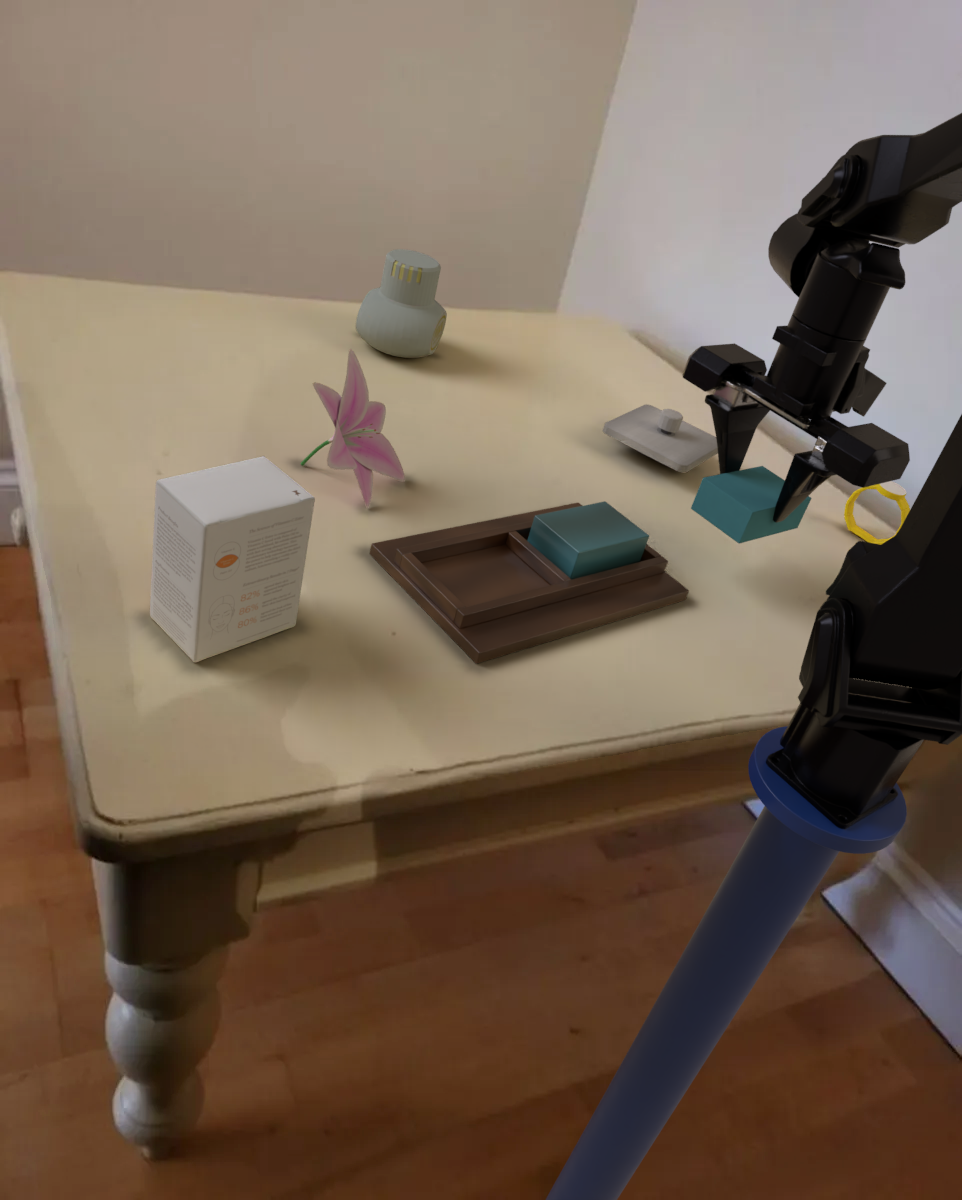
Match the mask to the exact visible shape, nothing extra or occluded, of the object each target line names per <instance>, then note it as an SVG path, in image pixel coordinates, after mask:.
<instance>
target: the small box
mask: <svg viewBox="0 0 962 1200" xmlns="http://www.w3.org/2000/svg"><path fill="white" fill-rule="evenodd" d="M315 501H316V498H315V496H314V495H313V494H311V493H310V492H309V491H307V490H306V488H304V487H303V486H302V485H301V484H299V483H298V482H297V481H295V480H294V478H292V477H291V476H290V475H288V474H287V473H286V472H285V471H283V470H282V469H281V468H280V467H279V466H277V465H276V464H275V463H274V462H272V461H271V460H270V459H268V458H267V457H266V456H265V455H262V456H257V457H254V458H249V459H245V460H240V461H235V462H231V463H227V464H223V465H218V466H213V467H209V468H205V469H200V470H196V471H191V472H186V473H182V474H178V475H177V474H176V475H172V476H168V477H163V478H159V479H157V480H156V482H155V495H154V515H153V516H154V517H153V518H154V519H153V535H152V554H151V555H152V556H151V557H152V559H151V578H150V579H151V580H150V601H149V617H150V619H152V620H153V621H154V622H155V623H156V624H157V625H158V626H159V627H160V628H161V629H162V630H163V631H164V633H165V634H166V635H167V636H168V637H169V638H170V639H171V640H172V641H173V642H174V643H175V644H176V646H178V647H179V648H180V650H182V652H184V654H186V656H187V657H188V658H189V659H190V660H191V661H192V662H193V663H199V662H201V661H204V660H206V659H209V658H211V657H214V656H217V655H219V654H223V653H226V652H228V651H231V650H234V649H236V648H239V647H242V646H244V645H247V644H250V643H253V642H256V641H259V640H261V639H264V638H267V637H270V636H272V635H275V634H277V633H280V632H283V631H286V630H288V629H291V628H294V627H295V626H296V625H297V620H298V619H297V618H298V614H299V613H298V612H299V605H300V599H301V591H302V586H303V580H304V573H305V567H306V560H307V552H308V548H309V547H308V546H309V539H310V533H311V528H312V521H313V514H314V508H315Z"/></svg>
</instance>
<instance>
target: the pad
mask: <svg viewBox="0 0 962 1200" xmlns="http://www.w3.org/2000/svg"><path fill="white" fill-rule="evenodd" d="M784 482H785V479H783V478H782V477H781V476H779V475H777V474H776V473H774V472H773V471H772V470H770V469H768V468H767V467H766V466H764V465H759V466H755V467H750V468H745V469H740V470H739V471H735V472H730V473H724V474H720V473H719V474H714V475H709V476H704V477H702V480H701V482H700V483H699V486H698V489H697V492H696V494H695V497H694V499H693V502H692V504H691V506H690V510H691V511H693V512H694V513H696V514H697V515H699V516H700V517H702V518H703V519H704V520H706V521H707V522H708V523H710V524H711V525H712V526H714V527H715V528H716V529H718V530H720V531H721V532H722V533H723V534H725V535H726V536H728V538H730V539H732V540H733V541H735V542H736V543H737V544H744V543H746V542H750V541H754V540H759V539H762V538H765V537H769V536H774V535H777V534H781V533H785V532H788V531H792V530H796V529H798V528H799V526H800V524H801V522H802V519H803V517H804V515H805V514H806V511H807V509H808V507H809V505H810V503H811V501H812V497H811V496H810V495H809V496H808V497H807V498H806V499H805V500H804V501H803V502H802V503H801V504H800V505H799V506H798V507H797V508H796V509H795V510H794V511H793V512H792V513H791V514H790V515H789V516H788V517H787V518H786V519H785V520H783V521H781V522H777V523H776V522H774V521H773V516H774V511H775V506H776V503H777V500H778V498H779V495H780V492H781V490H782V487H783V484H784Z"/></svg>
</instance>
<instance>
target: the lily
mask: <svg viewBox="0 0 962 1200" xmlns="http://www.w3.org/2000/svg"><path fill="white" fill-rule="evenodd" d="M312 386H313V389H314V391H315V392H316V394H317V396H318V398H319V400H320V402H321V404H322V405H323V408H324V409H325V410H326V412H327V414H328V416H329V418H330V420H331V423H332V424H333V426H334V433H333V435H332V436H331V437H330V438H328V439H327V440H325V441H324V442H322V443H321V444H319V445H318V446H316V447H315V448H314V449H313V450H312V451H311V452H310V453H309V454H308V455H306V457H305V458H304V459H303V460H302V461H301V462H300V466H302V467H303V466H304V465H306V463H307V462H308V461H309V460H311V458H313V456H314V455H316V453H318V452H319V451H320V450H321V449H323V448H324V447H325V446H327V445H329V444H330V446H329V449H328V454H327V457H326V466H327V467H328V468H330V469H332V470H338V471H339V470H340V471H345V470H346V471H347V470H349V471H350V470H353V473H354V476H355V479H356V481H357V484H358V488H359V490H360V493H361V497H362V499H363V503H364V506H365V508H366V509H367V510H368V509H369V508H370V505H371V502H372V497H373V489H374V473H373V472H375V473H377V474H379V475H382V476H385V477H388V478H390V479H392V480H395V481H398V482H401V483H402V482H403V483H404V482H405V481H406V475H405V471H404V468H403V466H402V463H401V461H400V458H399V456H398V454H397V452H396V450H395V448H394V446H393V445H392V443H391V441H390V440H389V439H388V438H387V437H386V436H385V435H384V434H383V433H382V430H383V427H384V424H385V420H386V413H387V409H386V405H385V404H384V403H383V402H382V401H381V402H380V401H377V400H374V401H373V400H370V395H369V393H370V392H369V387H368V383H367V380H366V377H365V373H364V371H363V369H362V365H361V363H360V362H359V359H358V356H357V354H356V353H355V351H354V350H353V349H352V348H349V350H348V355H347V365H346V375H345V380H344V385H343V389H342V393H341V395H340V393H339V392H338V391H337V390H335V389H334V388H331V387H330V386H328V385H326V384H324V383H320V382H316V381H315V382H313V383H312Z"/></svg>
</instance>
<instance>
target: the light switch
mask: <svg viewBox="0 0 962 1200" xmlns="http://www.w3.org/2000/svg"><path fill="white" fill-rule="evenodd" d="M683 419H684V416H683V414H682V413H680V412H679V411H678V410H675V409H672V408H664V409H660V408H658V407H656V406H654V405H651V404H647V403H646V404H643V405H640V406H638V407H636V408H634V409H632V410H629V411H628V412H625V413H623V414H621V415H619V416H617V417H615V418H613V419H611V420H608V421H606V422H604V424H603V428H602V432H603V433H604V434H605V435H607V436H609V437H611V438H612V439H614V440H616V441H618V442H620V443H622V444H624V445H626V446H628V447H629V448H631V449H633V450H636V452H637V453H639V454H641V455H643V456H645V457H647V458H649V459H651V460H653V461H655V462H657V463H659V464H660V465H663V466H665V467H666V468H668V469H672V470H674V471H675V472H678V473H687V472H689V471H691V470H693V469H695V468H696V467H697V466H699V465H702V464H703V463H704V462H706V461H708V460H709V459H711V458H713V457H714V456H716V455H718V447H717V440H716V435H713V434H711V433H709V432H707V431H705V430H703V429H701V428H699V427H697V426H695V425H693V424H692V423H689V422H686V420H683Z"/></svg>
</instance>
